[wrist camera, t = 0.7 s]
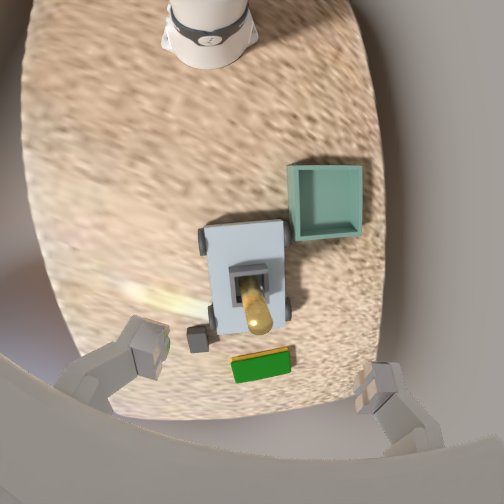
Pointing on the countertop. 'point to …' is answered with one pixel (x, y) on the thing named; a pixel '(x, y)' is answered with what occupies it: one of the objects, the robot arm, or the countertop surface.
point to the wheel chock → (197, 339)
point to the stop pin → (255, 306)
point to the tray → (324, 201)
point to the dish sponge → (261, 365)
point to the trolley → (245, 270)
